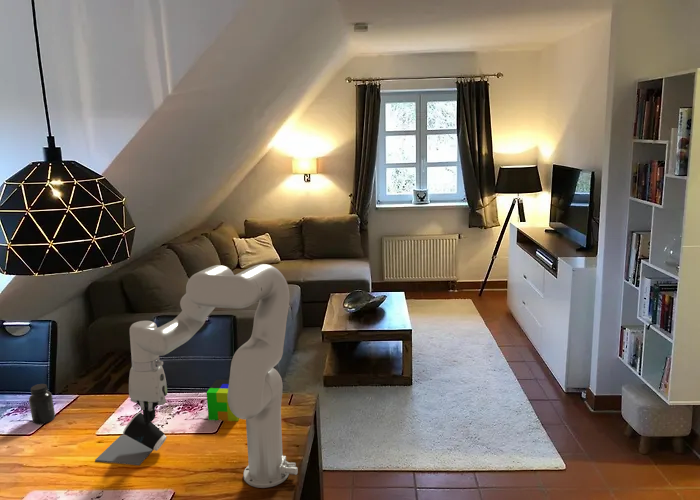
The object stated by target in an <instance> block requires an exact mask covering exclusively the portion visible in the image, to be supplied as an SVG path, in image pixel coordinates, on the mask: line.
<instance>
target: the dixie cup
mask: <svg viewBox="0 0 700 500" xmlns="http://www.w3.org/2000/svg"><path fill="white" fill-rule="evenodd" d="M122 435H127V436H128V437H130V438H132V439H134V440H136V441H138V442H139V443H141V444H143V445H145V446H147V447H149V448H150V449H152V450H153V449H154V450H153V451H156V452H157V451H158V450H159V449H160V448H161V447H162V445H163V444H164V443H165V442H166V440H167V438H168V437H167V436H166V434H165V433H164V432H163V431H162V430H161V429H160V428H159V427H158V426H157V425H155V423H154V422H153V421H152V422H151V423H148V422H147V423H145V422H144V418H143V411H138V412H137V413H136V414H135V415H134V416H133V417H132V418H131V419H130V420H129V422H127V425H126V426H125V428H124V430H123V432H122Z"/></svg>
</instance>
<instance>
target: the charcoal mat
mask: <svg viewBox="0 0 700 500" xmlns="http://www.w3.org/2000/svg"><path fill="white" fill-rule="evenodd" d="M153 451H155V450H154V449H153V450H152V449H150V448H149V447H147V446H145V445H143V444H141V443H139V442H138V441H136V440H134V439H132V438H130V437H128V436H127V435H123V434H121V435H119V437H118V438H116V439H115V440H114V441H113V442H112V443H111V444H110V445H109V446H108V447H107V448H106V449H105V450H104V451H102V452H101V453H100V454H99V455H98V456H97V458H96V459H95V462H97V463H98V462H100V463H108V464H109V463H111V464H121V465H131V466H132V465H133V466H140V465H141V464H142V463H143V462H144V461H145V460H146V459H147V457H149V455H150V454H152V452H153Z"/></svg>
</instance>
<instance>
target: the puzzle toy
mask: <svg viewBox="0 0 700 500" xmlns="http://www.w3.org/2000/svg"><path fill="white" fill-rule="evenodd" d="M228 387H229V379H220V378H219V379H218V378H217V379H215V380H214V381H213V383H212V384H211V386H210V387H209V389H207V391H206V403H207V415H208V421H225V422H239V420H240V418H238V417H236V416H235V415H234V414H233V413H232V411H231V410H230V407H229V404H228Z"/></svg>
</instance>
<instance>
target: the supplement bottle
mask: <svg viewBox="0 0 700 500" xmlns="http://www.w3.org/2000/svg"><path fill="white" fill-rule="evenodd" d="M30 394H31V395H29V398H28V403H29V408H30V414H31V419H32V422H33V424H35V425H44V424H47V423H50V422H52V421H53V420H54V419H55V417H56V414H55V407H54V400H53V395H52V392H50V391H49V389H48V385H47V384H45V383H40V384H35V385H32V386H31V387H30Z"/></svg>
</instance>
